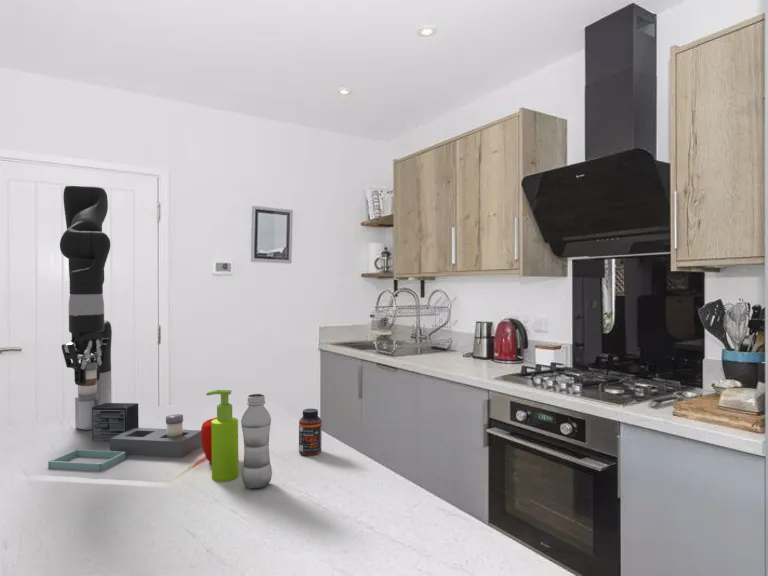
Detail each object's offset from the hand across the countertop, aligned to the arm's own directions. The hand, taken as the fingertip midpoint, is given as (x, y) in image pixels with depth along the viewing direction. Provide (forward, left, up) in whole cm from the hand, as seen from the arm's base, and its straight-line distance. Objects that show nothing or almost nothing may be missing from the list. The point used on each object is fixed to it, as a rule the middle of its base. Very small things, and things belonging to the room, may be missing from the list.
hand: (87, 382), depth 126 cm
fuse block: (+11, +11, -21) cm, 26 cm away
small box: (-7, +19, -21) cm, 29 cm away
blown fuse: (0, 0, -4) cm, 4 cm away
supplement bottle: (+51, +17, -21) cm, 58 cm away
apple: (+30, +9, -21) cm, 38 cm away
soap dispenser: (+36, -2, -21) cm, 42 cm away
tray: (0, 0, -21) cm, 21 cm away
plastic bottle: (+46, -6, -21) cm, 51 cm away
